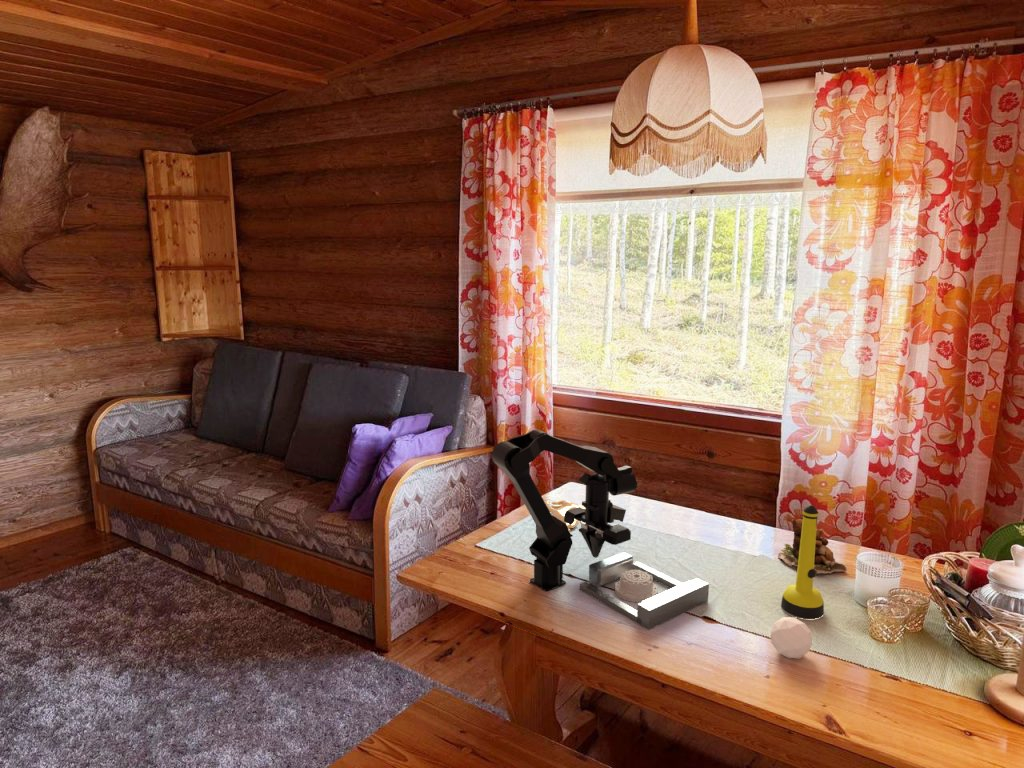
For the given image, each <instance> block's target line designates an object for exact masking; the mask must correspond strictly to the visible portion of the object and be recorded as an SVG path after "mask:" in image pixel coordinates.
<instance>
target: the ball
mask: <svg viewBox="0 0 1024 768" xmlns="http://www.w3.org/2000/svg"><path fill="white" fill-rule="evenodd" d="M770 643H771V645H772V646H773V648H774V649H775V650H776V652H778V653H779V654H780V655H782V656H784V657H785V658H788V659H801V658H802V657H804V656H805V655H806V654H808V653H809V651H810V650H811V648H812V646H813V638H812V631H811V630H810V628H809V627H808V625H806V623H805V622H803V621H801V619H797V618H795V617H791V616H788V617H787V616H786V617H785V616H782V617H781V618H780V619H778V620H777V621H775V622H774V624H773V625H772V627H771V629H770Z"/></svg>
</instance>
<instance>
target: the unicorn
mask: <svg viewBox="0 0 1024 768" xmlns="http://www.w3.org/2000/svg"><path fill="white" fill-rule="evenodd" d="M545 504H546V506H547V507H548V509H549V511H550V513H551V515H552V516H555V517H556V518H558V519H559V520H561V521H563V522H564V514H565V513H566V511H567V510H571V509H574V508H578V507H581V508H583V509H585V507H584V506H582V504H580V505H579V504H577V503H575V502H571V501H566V500H564V499H561V500H557V501H556V500H555V501H551V505H550V500H548V501H545ZM564 523H566V522H564ZM579 524H580V522H579V521H578V520H576V519H574V523H573V524H571V525H570V524H568V523H566V525H567V527H568V530H569V532H572V530H571V529H573V528H575V527H577V525H579Z"/></svg>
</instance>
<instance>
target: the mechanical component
mask: <svg viewBox="0 0 1024 768" xmlns="http://www.w3.org/2000/svg"><path fill="white" fill-rule="evenodd" d="M614 585H615V586H614V589H615V590H614V593H615V594H616V595H617V596H618V597H619V598H621V599H623V600H625V601H627V602H631V603H632V602H633V603H641V602H642V601H644V600H646V599H649V598H651V597H653V596H655V595H658V594H659V589H658V586H657V585H656V584H655V583H654V580H653V577H652V575H649V574H647V572H643V571H641V570H636V569H635V570H632V569H631V570H630V571H624V573H623V574H621V578H620V580H618V581H617V582H616V583H615V584H614Z"/></svg>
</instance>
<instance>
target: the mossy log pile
mask: <svg viewBox="0 0 1024 768" xmlns="http://www.w3.org/2000/svg"><path fill="white" fill-rule="evenodd" d="M790 522H791V523H792V529H793V543H792V546H791V544H788V543H784V544H783V545H784V548H783V549H780V550H781V552H779V553H778V555H777V558H778V559H782V561H783V562H784V563H785V564H786V565H787V566H789V567H793V566H794V567H798V559H799V550H800V541H801V532H802V522H803V514H802V515H801V517H800V518H798V519H795V518H792V519H791V521H790ZM823 532H824V531H823V529H816V544H815V559H814V570H815V571H816V575H817V574H826V575H828V574H827V573H830V574H832V573H834V572H847V571H848V569H847V567H846V566H845V565H844V564H843V563H839V562H837V561H836V559H835V557H834V552H833V551H832V550H831V549H830V548H829V547H828V545H829V541H828V538H826V537H823V536H822V535H823Z"/></svg>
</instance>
